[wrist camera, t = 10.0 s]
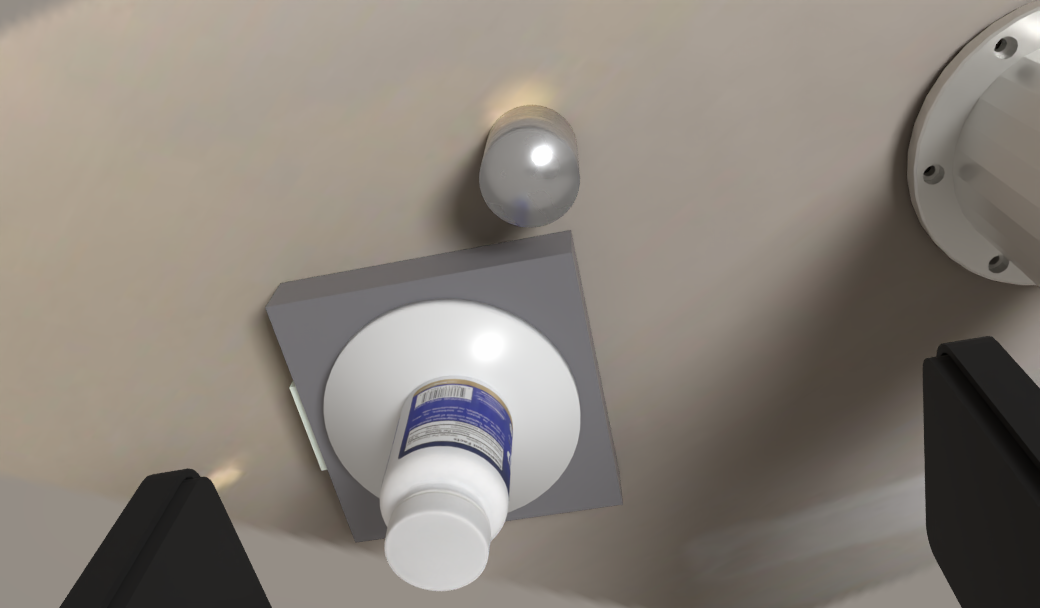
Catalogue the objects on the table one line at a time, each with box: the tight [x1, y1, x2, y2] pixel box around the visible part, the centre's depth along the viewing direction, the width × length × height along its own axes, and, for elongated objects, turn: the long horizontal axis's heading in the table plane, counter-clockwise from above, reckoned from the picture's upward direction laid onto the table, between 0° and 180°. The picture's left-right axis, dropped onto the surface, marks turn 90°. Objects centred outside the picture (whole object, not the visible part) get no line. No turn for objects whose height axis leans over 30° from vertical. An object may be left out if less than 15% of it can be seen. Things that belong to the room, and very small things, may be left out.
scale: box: [265, 230, 623, 543], centre depth 43 cm, size 14×14×3 cm
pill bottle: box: [380, 375, 513, 591], centre depth 37 cm, size 5×5×9 cm
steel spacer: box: [479, 105, 580, 227], centre depth 37 cm, size 4×4×4 cm
